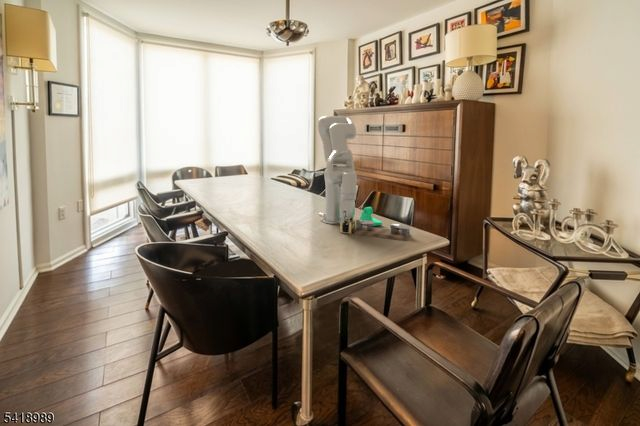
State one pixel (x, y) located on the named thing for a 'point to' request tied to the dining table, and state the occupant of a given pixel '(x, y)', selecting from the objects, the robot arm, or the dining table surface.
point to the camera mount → (369, 216)
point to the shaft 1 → (364, 224)
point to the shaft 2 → (397, 227)
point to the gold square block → (351, 226)
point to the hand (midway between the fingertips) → (347, 230)
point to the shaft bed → (381, 233)
